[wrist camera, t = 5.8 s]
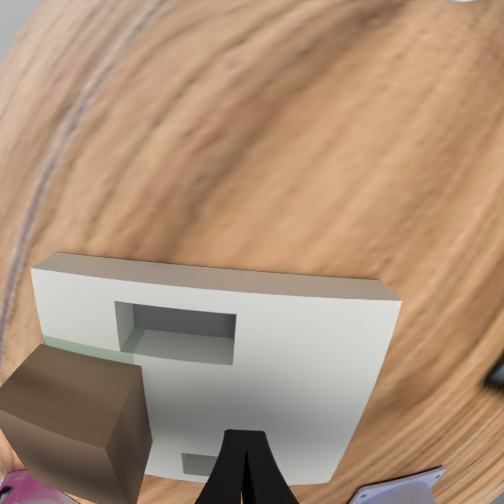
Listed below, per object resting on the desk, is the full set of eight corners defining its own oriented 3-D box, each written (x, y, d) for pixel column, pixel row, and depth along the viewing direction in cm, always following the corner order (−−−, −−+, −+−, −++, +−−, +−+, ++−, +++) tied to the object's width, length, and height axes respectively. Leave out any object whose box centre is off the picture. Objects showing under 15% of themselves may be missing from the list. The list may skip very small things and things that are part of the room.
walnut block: (152, 441, 11) (133, 513, 7) (65, 420, 11) (33, 478, 7) (141, 365, 10) (105, 449, 6) (40, 343, 10) (-13, 403, 6)
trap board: (321, 456, 14) (328, 482, 12) (97, 434, 14) (86, 458, 12) (380, 279, 11) (402, 300, 9) (57, 252, 11) (30, 267, 9)
